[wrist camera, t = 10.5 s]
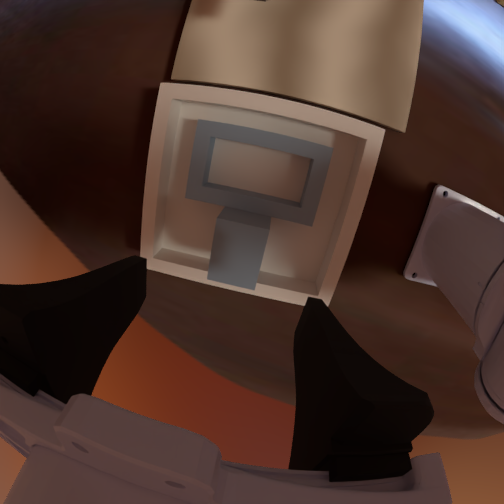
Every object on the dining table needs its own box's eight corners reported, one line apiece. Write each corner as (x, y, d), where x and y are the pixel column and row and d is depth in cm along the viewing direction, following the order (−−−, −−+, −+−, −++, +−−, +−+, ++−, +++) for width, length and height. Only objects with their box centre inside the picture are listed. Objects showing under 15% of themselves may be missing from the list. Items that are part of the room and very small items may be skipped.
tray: (372, 129, 17) (385, 129, 15) (322, 292, 22) (326, 309, 20) (174, 87, 17) (160, 82, 15) (152, 253, 22) (140, 266, 20)
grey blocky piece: (294, 270, 21) (297, 299, 17) (184, 244, 21) (165, 268, 17) (329, 146, 17) (342, 150, 14) (204, 120, 17) (185, 117, 14)
